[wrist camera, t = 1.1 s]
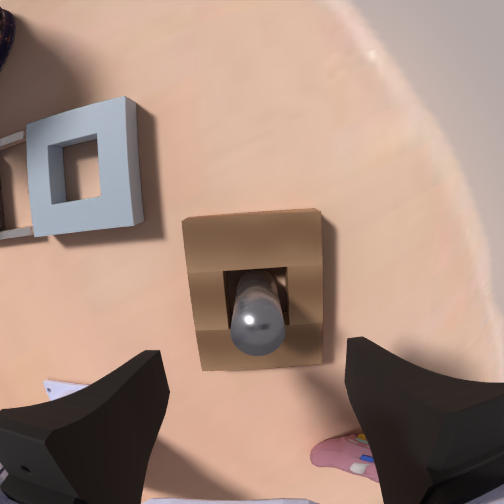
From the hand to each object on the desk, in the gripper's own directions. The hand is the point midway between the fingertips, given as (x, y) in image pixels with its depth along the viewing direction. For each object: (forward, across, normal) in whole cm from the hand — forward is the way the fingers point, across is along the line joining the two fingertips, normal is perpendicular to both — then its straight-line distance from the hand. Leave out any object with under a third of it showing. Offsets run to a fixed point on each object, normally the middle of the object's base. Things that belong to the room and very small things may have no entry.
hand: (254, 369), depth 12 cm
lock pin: (+10, 0, 0) cm, 10 cm away
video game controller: (+10, -9, +16) cm, 21 cm away
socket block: (+10, +11, -9) cm, 17 cm away
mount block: (+10, 0, 0) cm, 10 cm away
